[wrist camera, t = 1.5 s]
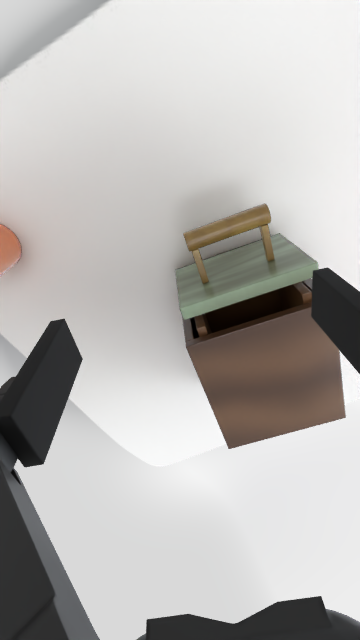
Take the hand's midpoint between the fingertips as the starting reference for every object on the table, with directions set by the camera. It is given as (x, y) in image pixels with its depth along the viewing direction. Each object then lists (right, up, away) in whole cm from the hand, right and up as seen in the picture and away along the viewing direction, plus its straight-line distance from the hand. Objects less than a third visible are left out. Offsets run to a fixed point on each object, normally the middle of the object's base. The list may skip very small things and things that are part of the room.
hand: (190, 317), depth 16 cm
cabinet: (+8, -1, +22) cm, 23 cm away
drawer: (+6, +4, +18) cm, 19 cm away
